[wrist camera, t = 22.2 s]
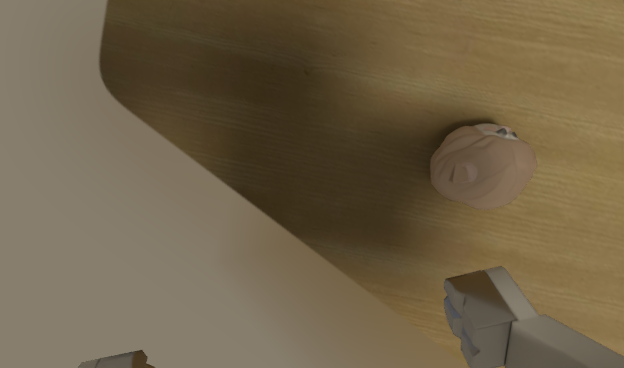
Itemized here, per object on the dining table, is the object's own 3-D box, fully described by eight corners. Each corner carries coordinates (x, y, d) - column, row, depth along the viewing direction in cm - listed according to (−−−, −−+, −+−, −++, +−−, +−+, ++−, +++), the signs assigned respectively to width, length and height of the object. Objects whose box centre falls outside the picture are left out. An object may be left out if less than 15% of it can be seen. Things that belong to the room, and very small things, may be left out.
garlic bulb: (477, 95, 31) (513, 117, 24) (533, 154, 32) (584, 193, 25) (410, 156, 33) (423, 194, 26) (464, 209, 34) (492, 260, 27)
